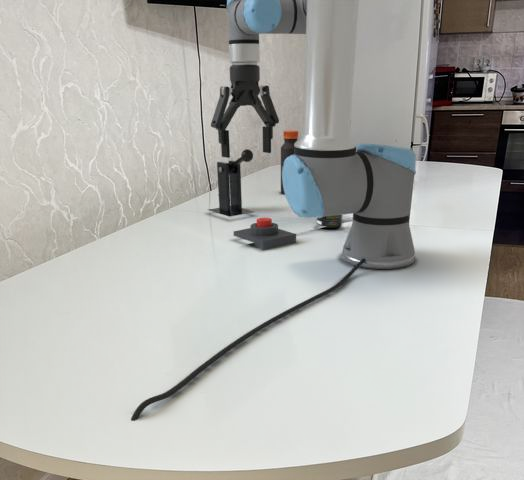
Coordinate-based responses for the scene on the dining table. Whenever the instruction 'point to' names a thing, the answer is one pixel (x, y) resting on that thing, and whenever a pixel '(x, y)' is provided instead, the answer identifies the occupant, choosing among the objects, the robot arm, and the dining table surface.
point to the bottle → (287, 149)
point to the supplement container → (330, 222)
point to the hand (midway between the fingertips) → (246, 154)
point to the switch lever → (241, 160)
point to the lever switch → (229, 191)
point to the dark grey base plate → (266, 236)
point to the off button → (264, 222)
